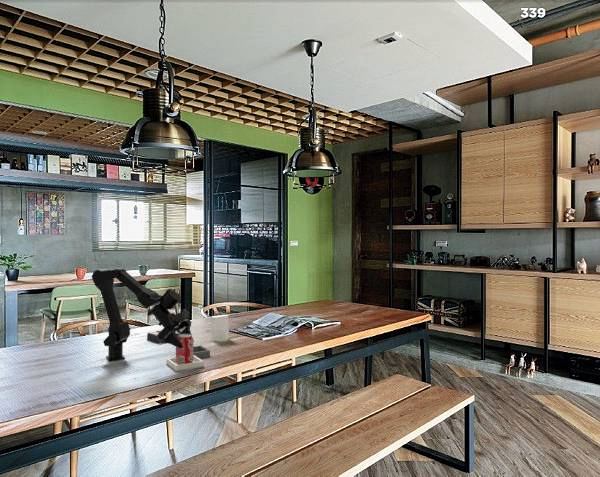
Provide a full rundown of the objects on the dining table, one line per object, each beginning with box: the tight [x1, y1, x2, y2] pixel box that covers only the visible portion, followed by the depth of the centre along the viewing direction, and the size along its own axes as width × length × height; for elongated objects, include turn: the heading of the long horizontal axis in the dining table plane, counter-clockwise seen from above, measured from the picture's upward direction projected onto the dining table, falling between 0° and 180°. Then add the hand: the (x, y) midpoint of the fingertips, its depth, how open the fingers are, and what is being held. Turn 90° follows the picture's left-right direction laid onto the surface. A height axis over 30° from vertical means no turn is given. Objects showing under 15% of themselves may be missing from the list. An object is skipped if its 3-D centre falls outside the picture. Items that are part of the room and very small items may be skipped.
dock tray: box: [165, 355, 205, 372], centre depth 180 cm, size 12×12×2 cm
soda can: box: [175, 333, 194, 365], centre depth 180 cm, size 7×7×12 cm
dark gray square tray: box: [193, 345, 211, 359], centre depth 195 cm, size 10×10×2 cm
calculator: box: [146, 330, 180, 344], centre depth 223 cm, size 11×4×15 cm
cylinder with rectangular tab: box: [210, 314, 229, 342], centre depth 224 cm, size 9×9×12 cm
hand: (187, 345), depth 180 cm, fingers open, 9 cm apart
